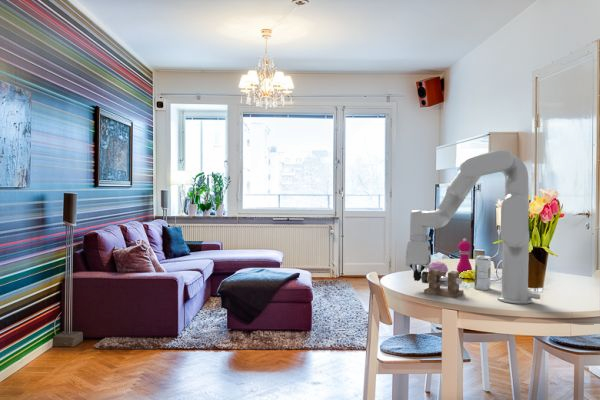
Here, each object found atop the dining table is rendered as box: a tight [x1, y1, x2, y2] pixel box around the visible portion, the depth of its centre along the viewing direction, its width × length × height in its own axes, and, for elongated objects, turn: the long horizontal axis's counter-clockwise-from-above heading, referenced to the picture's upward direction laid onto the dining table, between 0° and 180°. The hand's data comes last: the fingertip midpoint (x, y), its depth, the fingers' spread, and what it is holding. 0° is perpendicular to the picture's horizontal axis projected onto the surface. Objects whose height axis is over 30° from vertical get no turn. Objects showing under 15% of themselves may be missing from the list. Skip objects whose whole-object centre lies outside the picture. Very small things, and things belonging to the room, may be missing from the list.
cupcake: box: [427, 261, 449, 284], centre depth 226 cm, size 9×9×10 cm
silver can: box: [474, 255, 492, 291], centre depth 211 cm, size 6×6×14 cm
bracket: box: [423, 269, 464, 299], centre depth 200 cm, size 14×9×10 cm, turn 56°
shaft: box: [420, 271, 463, 285], centre depth 201 cm, size 16×5×5 cm, turn 56°
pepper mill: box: [456, 238, 473, 274], centre depth 238 cm, size 7×7×20 cm
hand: (417, 280), depth 207 cm, fingers closed
